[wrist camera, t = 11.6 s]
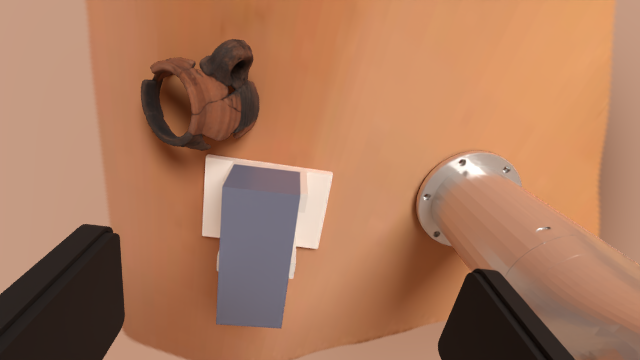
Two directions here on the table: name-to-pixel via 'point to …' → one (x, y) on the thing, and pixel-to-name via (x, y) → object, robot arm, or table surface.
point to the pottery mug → (206, 96)
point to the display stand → (310, 204)
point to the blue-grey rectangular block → (256, 245)
